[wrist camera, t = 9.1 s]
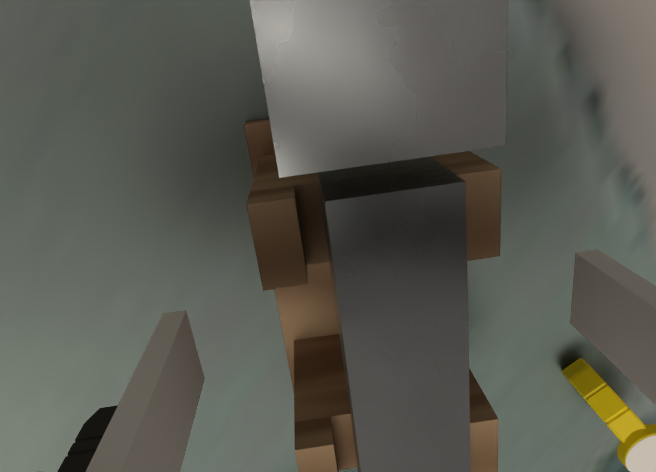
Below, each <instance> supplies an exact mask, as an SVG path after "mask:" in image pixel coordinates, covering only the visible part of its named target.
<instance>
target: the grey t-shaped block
mask: <svg viewBox="0 0 656 472" xmlns="http://www.w3.org/2000/svg"><path fill="white" fill-rule="evenodd" d="M250 6H251V12H252V18H253V24H254V30H255V36H256V42H257V48H258V54H259V60H260V66H261V72H262V78H263V83H264V89H265V95H266V101H267V107H268V113H269V119H270V125H271V131H272V137H273V143H274V149H275V155H276V161H277V167H278V173H279V178H281V177H288V176H295V175H302V174H309V173H316V172H317V175H318V183H319V190H320V197H321V205H322V212H323V219H324V227H325V234H326V241H327V248H328V256H329V263H330V270H331V278H332V285H333V292H334V300H335V307H336V314H337V322H338V329H339V336H340V344H341V351H342V358H343V365H344V373H345V380H346V387H347V395H348V402H349V409H350V417H351V424H352V431H353V439H354V446H355V453H356V460H357V468H358V472H471V452H470V398H469V344H468V290H467V235H466V182H465V181H464V180H463V179H461V178H460V177H458V176H457V175H456V174H454V173H453V172H451V171H450V170H449V169H447V168H446V167H444V166H443V165H442V164H440V163H439V162H438V161H436V160H435V159H433V158H432V157H431V156H437V155H444V154H451V153H458V152H465V151H472V150H479V149H487V148H494V147H501V146H506V89H507V15H508V0H250Z"/></svg>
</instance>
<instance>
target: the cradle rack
mask: <svg viewBox="0 0 656 472" xmlns="http://www.w3.org/2000/svg"><path fill="white" fill-rule="evenodd" d="M244 128H245V134H246V139H247V144H248V150H249V155H250V160H251V166H252V171H253V176H254V181H253V184H252V188H251V191H250V194H249V198H248V201H247V204H246V205H247V210H248V215H249V220H250V225H251V231H252V236H253V241H254V246H255V251H256V256H257V261H258V266H259V271H260V276H261V281H262V286H263V290H270V289H275V294H276V299H277V305H278V310H279V315H280V321H281V326H282V331H283V337H284V342H285V347H286V353H287V358H288V363H289V369H290V374H291V379H292V385H293V390H294V413H295V454H296V459H297V464H298V469H299V472H339V470H343V469H349V468H355V467H357V460H356V453H355V446H354V439H353V431H352V424H351V417H350V409H349V402H348V395H347V387H346V380H345V373H344V365H343V358H342V351H341V344H340V336H339V329H338V322H337V314H336V307H335V300H334V292H333V285H332V278H331V270H330V263H329V256H328V248H327V241H326V234H325V227H324V219H323V212H322V205H321V197H320V190H319V183H318V175H317V172H316V173H309V174H302V175H295V176H288V177H281V178H279V173H278V167H277V161H276V155H275V149H274V143H273V137H272V131H271V125H270V119H262V120H254V121H247V122H245V124H244ZM431 157H432V158H433V159H435V160H436V161H438V162H439V163H440V164H442V165H443V166H444V167H446V168H447V169H449V170H450V171H451V172H453V173H454V174H456V175H457V176H458V177H460V178H461V179H463V180H464V181H465V182H466V235H467V261H469V260H476V259H483V258H490V257H497V256H500V225H501V168H499V167H497V166H495V165H493V164H491V163H489V162H488V161H486V160H484V159H482V158H480V157H478V156H476V155H475V154H473V153H471V152H469V151H465V152H458V153H451V154H444V155H437V156H431ZM469 398H470V452H471V472H498V418H497V416H496V414H495V412H494V411H493V409H492V407H491V405H490V404H489V402H488V400H487V398H486V397H485V395H484V393H483V391H482V390H481V388H480V386H479V384H478V383H477V381H476V379H475V377H474V376H473V374H472V372H471V370H470V369H469Z"/></svg>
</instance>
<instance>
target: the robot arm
mask: <svg viewBox="0 0 656 472" xmlns="http://www.w3.org/2000/svg"><path fill="white" fill-rule="evenodd" d="M570 323H571V324H572V325H573V326H574V327H575V328H576V329H577V330H578V331H579V332H580V333H581V334H582V335H583V336H584V337H585V338H586V339H587V340H588V341H589V342H591V343H592V344H593V345H594V346H595V347H596V348H597V349H598V350H599V351H600V352H601V353H602V354H603V355H604V356H605V357H606V358H607V359H608V360H609V361H610V362H611V363H612V364H614V365H615V366H616V367H617V368H618V369H619V370H620V371H621V372H622V373H623V374H624V375H625V376H626V377H627V378H628V379H629V380H630V381H631V382H632V383H633V384H634V385H636V386H637V387H638V388H639V389H640V390H641V391H642V392H643V393H644V394H645V395H646V396H647V397H648V398H649V399H650V400H651V401H652V402H653V403H654V404H655V405H656V286H654V285H653V284H651V283H650V282H648V281H646V280H645V279H643V278H642V277H640V276H639V275H637V274H635V273H634V272H632V271H631V270H629V269H627V268H626V267H624V266H623V265H621V264H620V263H618V262H616V261H615V260H613V259H612V258H610V257H609V256H607V255H605V254H604V253H602V252H601V251H599V250H592V251H585V252H579V253H575V266H574V279H573V292H572V305H571V318H570ZM203 382H204V375H203V371H202V367H201V363H200V360H199V356H198V352H197V349H196V345H195V341H194V338H193V334H192V330H191V327H190V323H189V319H188V316H187V312H186V310H185V311H178V312H171V313H164V314H162V316H161V319H160V321H159V323H158V325H157V327H156V329H155V331H154V333H153V335H152V337H151V339H150V341H149V343H148V345H147V347H146V349H145V351H144V353H143V355H142V357H141V359H140V362H139V364H138V366H137V368H136V370H135V372H134V374H133V376H132V378H131V380H130V382H129V384H128V386H127V388H126V390H125V392H124V394H123V396H122V398H121V400H120V402H119V404H118V406H111V407H105V408H100V409H99V410H98V411H97V412H96V413H95V414H93V415H92V416H91V417H90V418H89V419H88V420H87V421H86V422H85V423H84V425H83V427H82V429H81V430H80V432H79V434H78V436H77V438H76V439H75V443H73V445H72V447H71V448H70V450H69V452H68V456H67V457H65V459H64V461H63V463H62V465H61V466H60V468H59V470H58V472H180V470H181V466H182V462H183V459H184V455H185V451H186V447H187V443H188V439H189V436H190V432H191V428H192V424H193V420H194V417H195V413H196V409H197V405H198V401H199V398H200V394H201V390H202V386H203Z"/></svg>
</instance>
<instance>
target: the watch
mask: <svg viewBox="0 0 656 472" xmlns="http://www.w3.org/2000/svg"><path fill="white" fill-rule="evenodd" d="M562 373H563V374H564V376H565V377H566V378H567V379H568V380H569V382H570V383H571V384H572V385H573V386H574V387H575V389H576V390H577V391H578V392H579V393H580V394H581V396H582V397H583V398H584V399H585V400H586V401H587V403H588V404H589V405H590V406H591V407H592V408H593V410H594V411H595V412H596V413H597V414H598V415H599V416H600V418H601V419H602V420H603V421H604V422H606V425H607V426H608V427H609V428H610V429H611V430H612V431H613V433H614V434H615V435H616V436H617V437H618V438H619V439H620V443H619V445H618V448H617V456H618V458H619V459H620V461H621V462H622V463H623V465H624V466H625V467H626V468H627V469H628V470H629V471H630V472H656V424H648V425H644V424H643V423H642V422H641V420H640V419H639V418H638V417H637V416H636V415H635V414H634V413H633V411H632V410H631V409H630V408H628V406H627V405H626V404H625V403H624V402H623V401H622V399H621V398H620V397H619V396H618V395H617V394H616V393H615V392H614V391H613V390H612V389H611V388H610V386H609V385H608V384H607V383H606V382H605V381H604V380H603V379H602V378H601V377H600V376H599V375H598V374H597V373H596V372H595V371H594V370H593V369H592V368H591V366H590V365H589V364H587V363H586V362H585V361H584V360H583V359H582V358H579V359H578V360H576V361H575V362H573V363H572V364H571V365H569V366H568V367H566V368H565V369H564V370H562Z"/></svg>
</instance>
